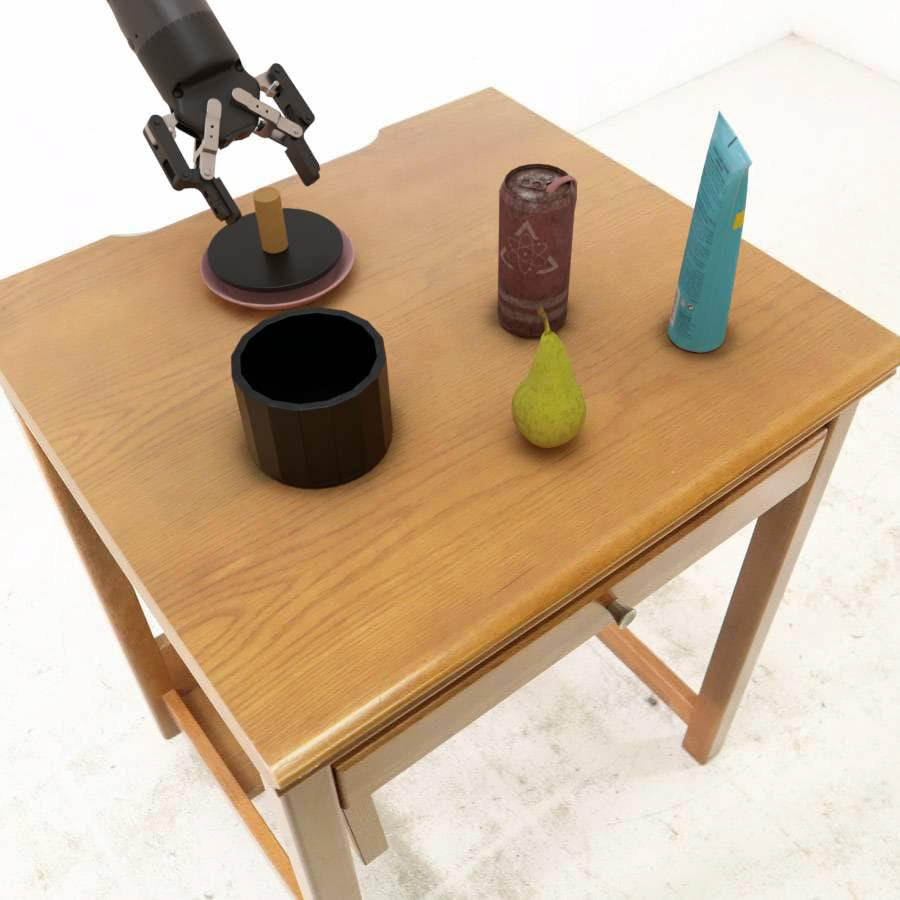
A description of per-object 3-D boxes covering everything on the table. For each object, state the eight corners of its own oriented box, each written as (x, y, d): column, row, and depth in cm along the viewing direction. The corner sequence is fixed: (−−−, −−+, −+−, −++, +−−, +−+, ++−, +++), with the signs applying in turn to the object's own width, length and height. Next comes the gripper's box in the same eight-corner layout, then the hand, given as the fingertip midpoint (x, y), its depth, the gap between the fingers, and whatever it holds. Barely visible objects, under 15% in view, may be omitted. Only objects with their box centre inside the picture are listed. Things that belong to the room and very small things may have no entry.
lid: (281, 316, 92) (270, 252, 87) (181, 267, 97) (165, 205, 93) (371, 245, 99) (365, 183, 94) (272, 204, 104) (262, 142, 99)
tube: (738, 357, 90) (784, 156, 76) (684, 367, 90) (721, 166, 76) (704, 304, 95) (742, 106, 81) (653, 313, 95) (682, 115, 81)
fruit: (567, 474, 81) (577, 356, 73) (498, 450, 83) (500, 333, 75) (594, 426, 85) (607, 308, 76) (528, 404, 87) (533, 287, 78)
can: (580, 328, 93) (592, 190, 83) (514, 347, 92) (518, 208, 82) (551, 289, 97) (559, 152, 87) (487, 306, 96) (487, 169, 86)
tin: (329, 511, 79) (316, 432, 73) (219, 449, 84) (198, 369, 78) (420, 422, 86) (415, 342, 80) (313, 369, 90) (301, 289, 84)
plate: (177, 267, 101) (172, 250, 99) (306, 213, 107) (303, 196, 105) (251, 344, 93) (247, 327, 91) (386, 281, 99) (384, 264, 97)
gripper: (110, 40, 84) (221, 221, 86) (255, -16, 90) (355, 154, 93) (92, 81, 90) (196, 248, 93) (229, 26, 97) (322, 184, 99)
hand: (275, 201), depth 93 cm, fingers open, 8 cm apart
